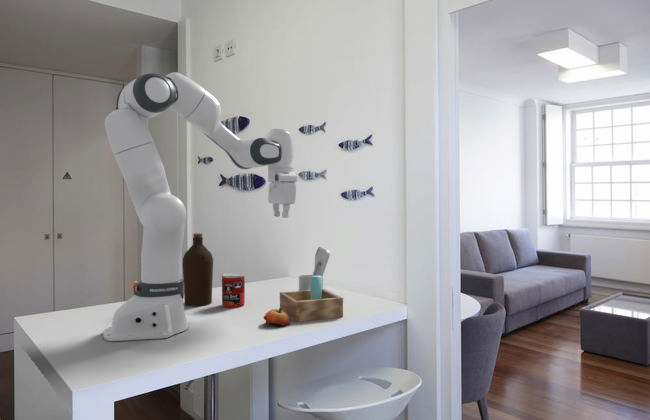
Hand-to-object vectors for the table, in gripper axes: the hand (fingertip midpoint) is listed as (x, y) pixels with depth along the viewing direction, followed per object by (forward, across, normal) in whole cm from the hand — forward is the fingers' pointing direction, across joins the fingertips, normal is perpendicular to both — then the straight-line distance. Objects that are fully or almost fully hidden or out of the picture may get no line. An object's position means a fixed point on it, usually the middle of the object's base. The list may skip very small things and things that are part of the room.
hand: (281, 217), depth 162 cm
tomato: (+32, +21, -8) cm, 39 cm away
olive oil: (+31, -16, -26) cm, 44 cm away
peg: (+31, +13, +8) cm, 35 cm away
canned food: (+31, -8, -15) cm, 36 cm away
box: (+31, +13, +6) cm, 34 cm away
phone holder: (+31, -14, +18) cm, 39 cm away
